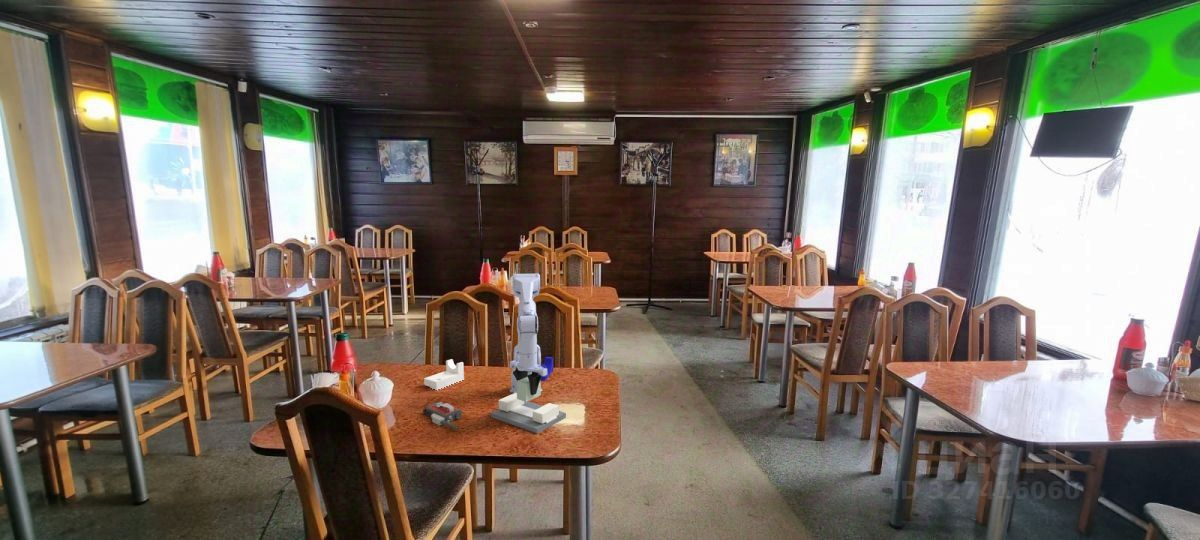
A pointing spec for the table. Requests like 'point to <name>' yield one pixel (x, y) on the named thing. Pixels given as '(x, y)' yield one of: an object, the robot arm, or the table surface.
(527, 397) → the module block
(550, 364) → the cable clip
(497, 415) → the mounting plate
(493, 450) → the table surface
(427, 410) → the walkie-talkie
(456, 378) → the bracket
